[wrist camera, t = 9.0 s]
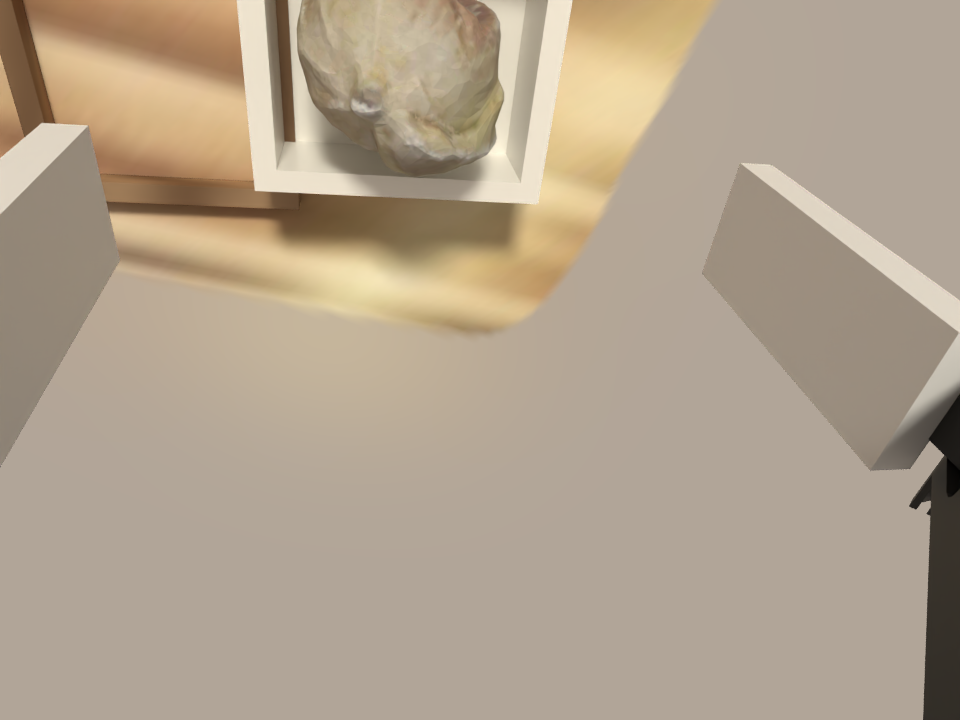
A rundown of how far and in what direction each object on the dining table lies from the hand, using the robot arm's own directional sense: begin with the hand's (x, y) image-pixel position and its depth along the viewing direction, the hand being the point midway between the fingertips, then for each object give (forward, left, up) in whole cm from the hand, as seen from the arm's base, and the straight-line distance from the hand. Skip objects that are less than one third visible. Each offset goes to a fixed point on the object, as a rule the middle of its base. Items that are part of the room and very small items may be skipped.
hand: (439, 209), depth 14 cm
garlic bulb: (0, 0, -20) cm, 20 cm away
